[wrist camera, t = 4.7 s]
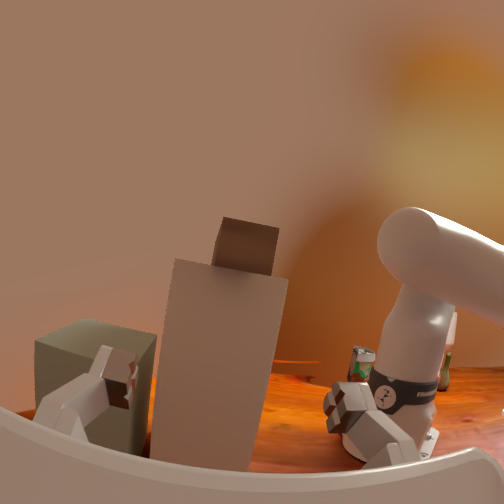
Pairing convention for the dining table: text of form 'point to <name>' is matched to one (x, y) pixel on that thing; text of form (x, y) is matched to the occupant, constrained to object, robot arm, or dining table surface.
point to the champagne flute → (450, 336)
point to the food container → (360, 364)
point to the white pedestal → (214, 365)
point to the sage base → (79, 362)
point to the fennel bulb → (444, 374)
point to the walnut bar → (245, 246)
